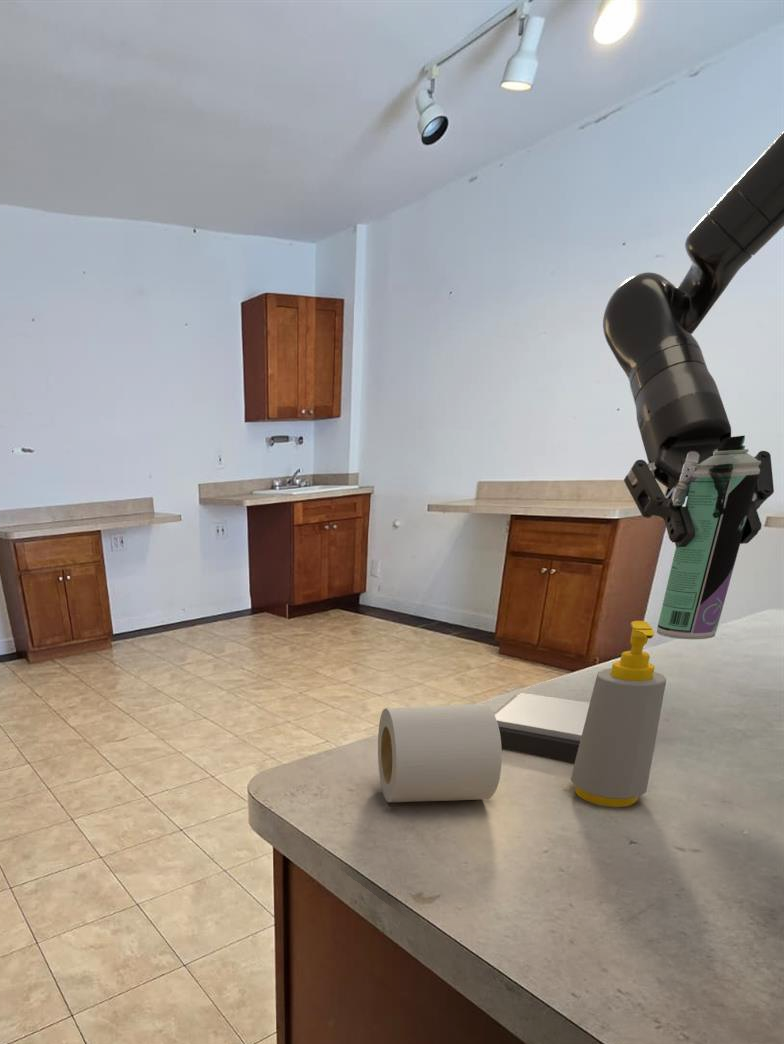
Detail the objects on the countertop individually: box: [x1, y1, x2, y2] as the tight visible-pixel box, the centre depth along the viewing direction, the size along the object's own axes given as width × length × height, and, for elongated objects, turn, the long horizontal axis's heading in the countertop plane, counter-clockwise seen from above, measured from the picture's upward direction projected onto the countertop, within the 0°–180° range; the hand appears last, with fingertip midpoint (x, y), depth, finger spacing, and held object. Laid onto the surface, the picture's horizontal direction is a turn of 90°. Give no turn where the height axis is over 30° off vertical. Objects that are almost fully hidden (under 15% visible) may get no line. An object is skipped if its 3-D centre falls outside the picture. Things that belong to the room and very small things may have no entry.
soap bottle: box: [570, 620, 667, 808], centre depth 63 cm, size 7×7×18 cm
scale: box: [493, 692, 590, 764], centre depth 80 cm, size 16×14×3 cm
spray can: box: [656, 435, 761, 640], centre depth 68 cm, size 6×6×20 cm
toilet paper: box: [377, 703, 503, 803], centre depth 67 cm, size 10×10×10 cm
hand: (717, 539), depth 67 cm, fingers closed on spray can, 5 cm apart
